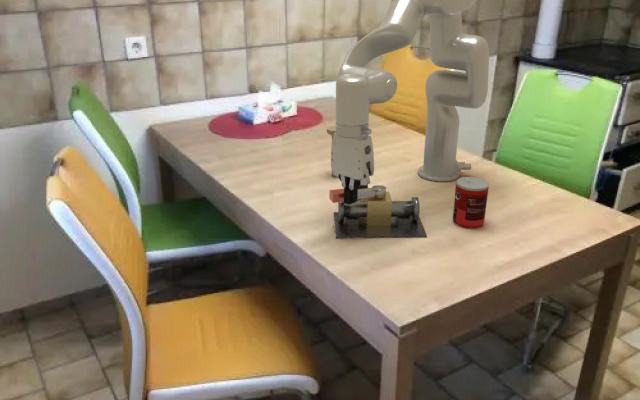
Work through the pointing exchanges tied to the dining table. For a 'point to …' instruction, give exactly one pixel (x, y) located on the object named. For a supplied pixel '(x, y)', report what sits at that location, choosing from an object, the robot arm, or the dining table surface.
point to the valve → (379, 219)
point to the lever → (359, 193)
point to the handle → (331, 132)
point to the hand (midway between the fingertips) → (350, 202)
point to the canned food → (470, 202)
